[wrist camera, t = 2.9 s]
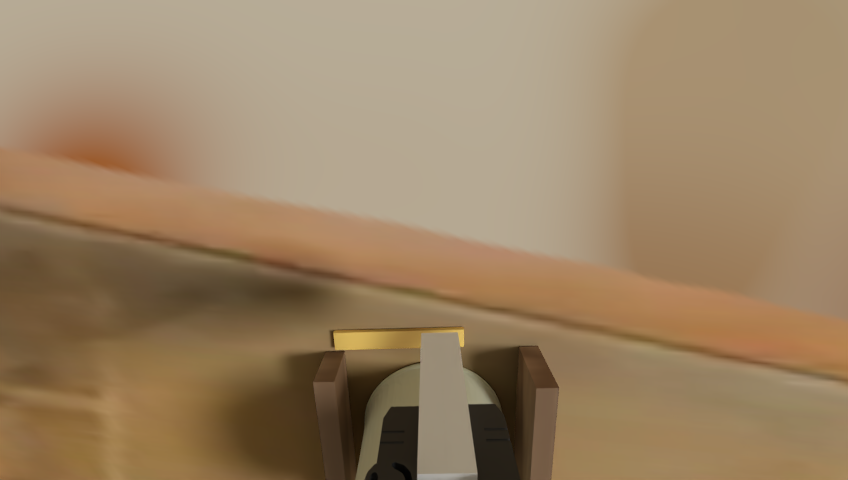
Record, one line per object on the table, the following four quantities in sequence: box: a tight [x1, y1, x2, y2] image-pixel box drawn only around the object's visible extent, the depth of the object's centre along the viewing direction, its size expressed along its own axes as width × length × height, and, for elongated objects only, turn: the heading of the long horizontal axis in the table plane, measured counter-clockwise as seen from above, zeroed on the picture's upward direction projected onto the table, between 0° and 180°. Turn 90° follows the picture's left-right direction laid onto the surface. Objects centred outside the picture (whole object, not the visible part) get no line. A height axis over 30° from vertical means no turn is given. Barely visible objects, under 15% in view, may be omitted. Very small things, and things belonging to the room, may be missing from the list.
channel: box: [313, 327, 559, 480], centre depth 24 cm, size 13×14×4 cm
